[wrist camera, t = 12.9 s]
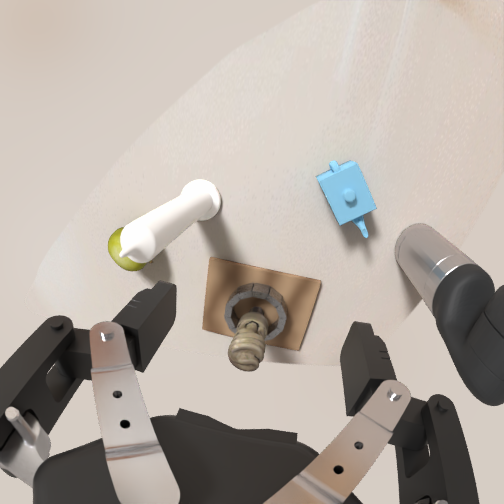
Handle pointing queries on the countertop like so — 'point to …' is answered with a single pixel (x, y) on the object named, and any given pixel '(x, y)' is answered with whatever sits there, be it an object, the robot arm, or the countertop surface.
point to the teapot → (347, 193)
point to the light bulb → (249, 340)
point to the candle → (169, 221)
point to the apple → (116, 248)
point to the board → (259, 299)
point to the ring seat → (263, 293)
